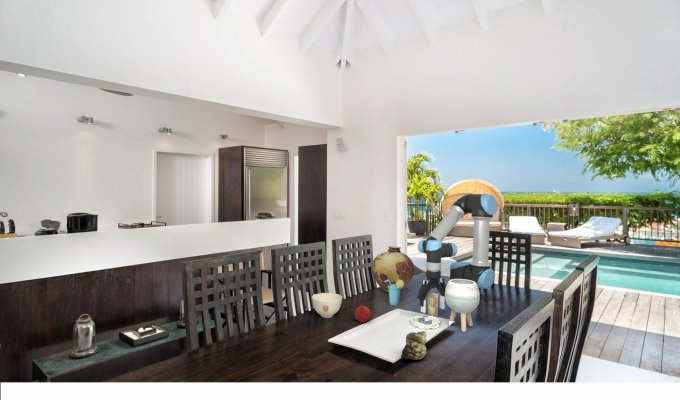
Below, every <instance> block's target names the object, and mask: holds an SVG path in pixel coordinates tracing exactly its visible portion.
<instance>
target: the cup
mask: <svg viewBox="0 0 680 400" xmlns="http://www.w3.org/2000/svg"><path fill="white" fill-rule="evenodd" d="M387 281H389V285H388V289H389V292H388V299H389V302H388V303H389V305H390V306H399V304H400V297H401V296H400V295H401V290H400V289H401V288H402V287H403V285H404V283H403V281H402V280H400V279H399V280H397V281H396V285H391V283H390V280H386V281H384V282H387Z"/></svg>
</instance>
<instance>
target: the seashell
mask: <svg viewBox="0 0 680 400" xmlns="http://www.w3.org/2000/svg"><path fill="white" fill-rule="evenodd" d="M426 344H427V331H425V330H424V331H423V330H422V331H418V332H413V331H412V332H409V333H407V334H406V335H405V346H404V347H403V348H402V350H401V355H400V357H401V358H402V359H406V360H414V361H418V360H422V359H423V358H424V357H425V356H426V354H427V347H426Z"/></svg>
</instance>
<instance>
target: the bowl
mask: <svg viewBox="0 0 680 400" xmlns="http://www.w3.org/2000/svg"><path fill="white" fill-rule="evenodd" d="M311 301H312V305H313V309H314V311H316V313H317V314H318V315H320V317H321V318H324V319H329V318H333V317H334V315H335V314H336V313H337V312H339V310H340V308H341V306H342V305H341V304H342V302H343V296H342V295H341V294H338V293H332V292H321V293H316V294H314V295H311Z"/></svg>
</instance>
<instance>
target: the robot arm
mask: <svg viewBox="0 0 680 400" xmlns="http://www.w3.org/2000/svg"><path fill="white" fill-rule="evenodd" d="M498 208H499V207H498V201H497V199H496V197H495V196H493V195H492V194H489V193H488V194H487V193H473V194H472V193H468V194H464V195H462V196H460V197H459V198H458V199H456V201H455V202H453V203H452V205H450V207H449V211H448V212H447V214H446V215H445V216H444V217H443V218H442V219H441V221H440V222H439V223H438V224H437V225H436V227H435V228H434V229H433V231H432V232H431V233H430V234H429V236H427V238H426V239H420V240H419V241H418V244H417V250H418V252H419V253H422V254H425V255H426V259H425V260H426V261H425V262H426V263H425V264H426V265H425V266H426V267H425V268H426V270H425V277H426V280H424V279H422V280H421V286H420V288H419V291H418V293H417V296H416V299H419V305H420V312H421V313H423V314H426V309H427V308H426V305H427V304H426V298H427V297H428V294H429V293H430V292H431V290H432V289H434V288H435V289H437V291H438V293H439V294H440V295H439V309H442V310H445V303H446V300H445V289H446V286H447V284H446V282H445V278H444V277H442V271H441V270H442V259H444V258H445V259H446V258H452V257H455V256H456V255H457V254H458V247H457V245H456V244H455V243H453V242H443V241H444V240H445V238H446V237H447V235H449V233H450V232H451V231H452V229H453V228H454V227H455V225H456V224H458V222H459V221H460V219H464V217H465V216H466V215H468V214H471V218H472V219H473V237H472V238H473V239H472V241H473V242H472V260H471V261H470V262H469V261H456V262H452V263H451V264H450V267H449V280H452V279H466V280H471V281H474V282H476V284H477V286H478V289H485V290H486V289H489V288H490V287H492V285H493V284H494V282H495V278H496V272H495V271H494V270H493V269H492V267H491V263H489V249H490V229H491V228H490V225H491V220H492V219H493V218H494V215H496V214H497V211H498Z"/></svg>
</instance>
